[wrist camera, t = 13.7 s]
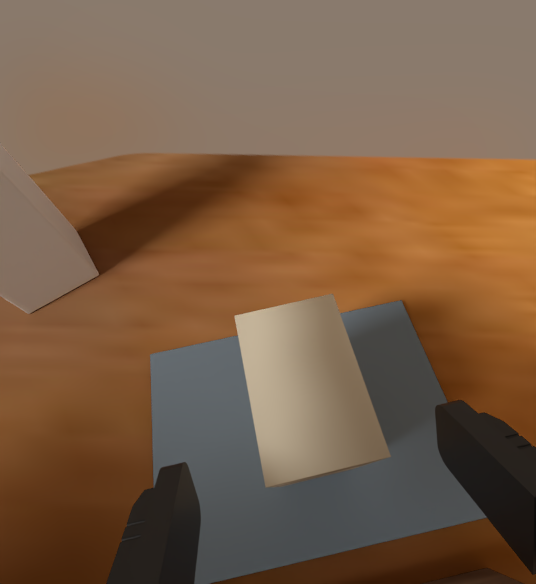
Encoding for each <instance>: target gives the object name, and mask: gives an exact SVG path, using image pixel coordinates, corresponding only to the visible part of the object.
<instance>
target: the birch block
mask: <svg viewBox="0 0 536 584" xmlns="http://www.w3.org/2000/svg"><path fill="white" fill-rule="evenodd" d="M235 321H236V327H237V332H238V338H239V343H240V349H241V355H242V360H243V366H244V371H245V377H246V382H247V388H248V393H249V399H250V404H251V410H252V415H253V421H254V427H255V432H256V438H257V443H258V449H259V454H260V460H261V465H262V471H263V476H264V482H265V487H282V486H286V485H290V484H295V483H299V482H303V481H307V480H311V479H315V478H319V477H323V476H327V475H331V474H335V473H339V472H343V471H348V470H351V469H354V468H357V467H361V466H364V465H367V464H370V463H373V462H376V461H379V460H382V459H386V458H389V457H391V455H390V452H389V450H388V447H387V444H386V441H385V438H384V436H383V433H382V430H381V427H380V424H379V422H378V419H377V416H376V413H375V410H374V408H373V405H372V402H371V399H370V396H369V394H368V391H367V388H366V385H365V382H364V380H363V377H362V374H361V371H360V368H359V366H358V363H357V360H356V357H355V354H354V352H353V349H352V346H351V343H350V340H349V337H348V335H347V332H346V329H345V326H344V323H343V321H342V318H341V315H340V312H339V309H338V307H337V304H336V301H335V298H334V295H333V294H329V295H325V296H320V297H316V298H311V299H307V300H303V301H298V302H294V303H289V304H285V305H280V306H276V307H271V308H267V309H263V310H258V311H254V312H249V313H245V314H240V315H236V316H235Z"/></svg>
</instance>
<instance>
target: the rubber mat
mask: <svg viewBox="0 0 536 584" xmlns="http://www.w3.org/2000/svg"><path fill="white" fill-rule="evenodd" d="M340 315H341V318H342V321H343V323H344V326H345V329H346V332H347V335H348V337H349V340H350V343H351V346H352V349H353V352H354V354H355V357H356V360H357V363H358V366H359V368H360V371H361V374H362V377H363V380H364V382H365V385H366V388H367V391H368V394H369V396H370V399H371V402H372V405H373V408H374V410H375V413H376V416H377V419H378V422H379V424H380V427H381V430H382V433H383V436H384V438H385V441H386V444H387V447H388V450H389V452H390V455H391V457H389V458H386V459H382V460H379V461H376V462H373V463H370V464H367V465H364V466H361V467H357V468H354V469H351V470H348V471H343V472H339V473H335V474H331V475H327V476H323V477H319V478H315V479H311V480H307V481H303V482H299V483H295V484H290V485H286V486H282V487H265V482H264V476H263V471H262V465H261V460H260V454H259V449H258V443H257V438H256V432H255V427H254V421H253V415H252V410H251V404H250V399H249V393H248V388H247V382H246V377H245V371H244V366H243V360H242V355H241V349H240V343H239V338H238V336H233V337H229V338H224V339H220V340H215V341H210V342H206V343H201V344H196V345H192V346H187V347H182V348H178V349H173V350H169V351H164V352H159V353H155V354H150V361H151V400H152V439H153V478H154V487H155V484H156V480H157V477H158V473H159V470H160V468H161V467H165V466H169V465H174V464H178V463H183V462H186V463H187V465H188V467H189V470H190V473H191V477H192V480H193V483H194V486H195V490H196V493H197V496H198V499H199V504H200V511H201V526H200V535H199V544H198V553H197V563H196V572H195V581H194V584H210V583H214V582H218V581H222V580H226V579H231V578H235V577H239V576H243V575H248V574H252V573H256V572H260V571H264V570H269V569H273V568H277V567H281V566H285V565H290V564H294V563H298V562H302V561H306V560H311V559H315V558H319V557H323V556H327V555H332V554H336V553H340V552H344V551H348V550H353V549H357V548H361V547H365V546H370V545H374V544H378V543H382V542H386V541H391V540H395V539H399V538H403V537H407V536H412V535H416V534H420V533H424V532H428V531H433V530H437V529H441V528H445V527H449V526H454V525H458V524H462V523H466V522H470V521H475V520H479V519H483V518H487V517H486V516H485V514H484V513H483V512H482V511H481V509H480V508H479V507H478V506H477V504H476V503H475V502H474V501H473V499H472V498H471V497H470V496H469V494H468V493H467V492H466V491H465V489H464V488H463V487H462V486H461V484H460V483H459V482H458V481H457V479H456V478H455V477H454V476H453V474H452V473H451V472H450V471H449V469H448V468H447V467H446V465H445V464H444V462H443V460H442V458H441V456H440V453H439V450H438V445H437V432H436V418H435V407H436V406H437V405H439V404H444V403H448V402H447V400H446V398H445V395H444V393H443V391H442V389H441V387H440V384H439V382H438V380H437V378H436V376H435V373H434V371H433V369H432V367H431V364H430V362H429V360H428V358H427V356H426V353H425V351H424V349H423V347H422V345H421V342H420V340H419V338H418V336H417V334H416V331H415V329H414V327H413V325H412V323H411V320H410V318H409V316H408V314H407V312H406V309H405V307H404V305H403V303H402V301H401V300H400V301H396V302H391V303H387V304H382V305H377V306H373V307H368V308H363V309H359V310H354V311H349V312H345V313H340Z"/></svg>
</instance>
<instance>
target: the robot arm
mask: <svg viewBox="0 0 536 584" xmlns="http://www.w3.org/2000/svg"><path fill="white" fill-rule="evenodd" d="M435 418H436V432H437V445H438V450H439V453H440V456H441V458H442V460H443V462H444V464H445V465H446V467H447V468H448V469H449V471H450V472H451V473H452V474H453V476H454V477H455V478H456V479H457V481H458V482H459V483H460V484H461V486H462V487H463V488H464V489H465V491H466V492H467V493H468V494H469V496H470V497H471V498H472V499H473V501H474V502H475V503H476V504H477V506H478V507H479V508H480V509H481V511H482V512H483V513H484V514H485V516H486V517H487V518H488V519H489V521H490V522H491V523H492V524H493V526H494V527H495V528H496V529H497V531H498V532H499V533H500V534H501V536H502V537H503V538H504V539H505V541H506V542H507V543H508V544H509V546H510V547H511V548H512V549H513V551H514V552H515V553H516V554H517V556H518V557H519V558H520V559H521V561H522V562H523V563H524V564H525V566H526V567H527V568H528V569H529V571H530V572H531V573H532V574H533V575H534V574H536V448H535V447H534V446H533V447H532V446H531V443H529V442H528V441H527V440H526V439H524V438H523V437H522V436H519V435H518V433H517V432H516V431H515V430H513V429H512V428H511V427H510V426H508V425H507V424H506V423H505V422H504V421H502V420H499V419H497V418H495V417H493V416H491V415H489V414H487V413H479V414H478V413H477V412H476V411H474V410H473V409H472V408H471V407H470V406H469V405H468V404H466V403H465V402H464V401H462V400H457V401H452V402H448V403H444V404H439V405H437V406H436V407H435ZM200 526H201V511H200V504H199V499H198V496H197V493H196V490H195V486H194V483H193V480H192V477H191V473H190V470H189V467H188V465H187V463H186V462H183V463H178V464H174V465H169V466H165V467H161V468H160V470H159V473H158V477H157V480H156V484H155V487H154V488H151V489H147V490H144V492H143V493H142V494H141V496H140V497H139V498H138V500H137V501H136V503H135V504H134V505H133V507H132V510H131V513H130V516H129V519H128V522H127V527H126V528H125V530H124V533H123V536H122V542H121V543H120V545H119V548H118V551H117V554H116V557H115V560H114V563H113V566H112V569H111V572H110V574H109V577H108V580H107V583H106V584H194V581H195V572H196V563H197V553H198V544H199V535H200Z"/></svg>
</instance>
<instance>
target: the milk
mask: <svg viewBox="0 0 536 584" xmlns="http://www.w3.org/2000/svg"><path fill="white" fill-rule="evenodd" d="M98 275H99V273H98V271H97V269H96V267H95V265H94V263H93V261H92V259H91V258H90V256H89V254H88V252H87V250H86V248H85V246H84V244H83V242H82V240H81V238H80V236H79V235H78V233H77V231H76V229H75V228H74V227H73V226H72V225H71V224H70V223H69V221H68V220H67V219H66V218H65V217H64V216H63V214H62V213H61V212H60V211H59V210H58V209H57V208H56V206H55V205H54V204H53V203H52V202H51V201H50V200H49V198H48V197H47V196H46V195H45V194H44V193H43V191H42V190H41V189H40V188H39V187H38V186H37V185H36V183H35V182H34V181H33V180H32V179H31V178H30V176H29V175H28V174H27V173H26V172H25V171H24V170H23V169H22V168H21V166H20V165H19V164H18V163H17V161H15V159H14V158H13V157H12V156H11V155H10V154H9V152H8V151H7V150H6V149H5V148H4V147H3V145H2V144H1V143H0V296H1V297H3V298H4V299H6V300H8V301H9V302H11V303H12V304H14V305H15V306H17V307H19V308H20V309H22V310H23V311H25V312H26V313H28V314H30V313H32V312H34V311H35V310H37V309H39V308H41V307H43V306H44V305H46V304H48V303H50V302H52V301H53V300H55V299H57V298H59V297H61V296H62V295H64V294H66V293H68V292H70V291H71V290H73V289H75V288H77V287H79V286H80V285H82V284H84V283H86V282H88V281H89V280H91V279H93V278H95V277H97V276H98Z"/></svg>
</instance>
